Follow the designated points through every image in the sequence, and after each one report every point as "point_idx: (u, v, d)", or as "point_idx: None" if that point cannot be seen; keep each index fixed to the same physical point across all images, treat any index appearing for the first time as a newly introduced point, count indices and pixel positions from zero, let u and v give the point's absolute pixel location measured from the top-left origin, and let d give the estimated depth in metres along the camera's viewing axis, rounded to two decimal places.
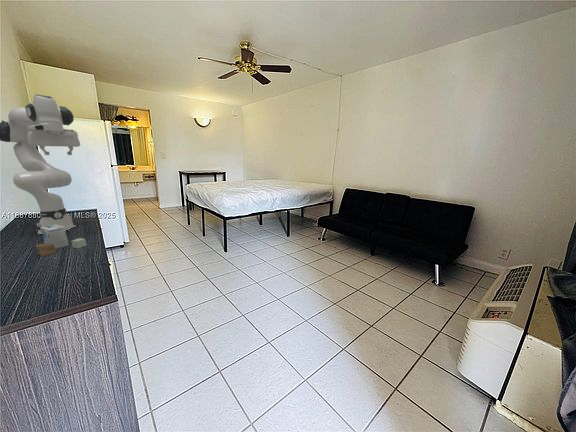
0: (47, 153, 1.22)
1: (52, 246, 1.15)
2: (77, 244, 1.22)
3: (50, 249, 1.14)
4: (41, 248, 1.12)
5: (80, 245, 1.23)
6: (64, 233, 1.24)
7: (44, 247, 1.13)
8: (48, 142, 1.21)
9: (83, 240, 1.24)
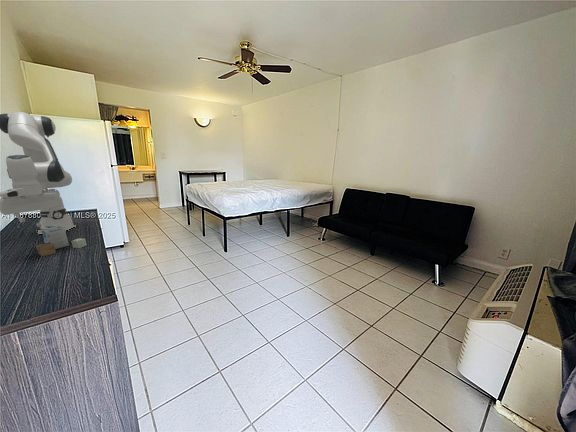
0: (23, 220, 1.06)
1: (52, 246, 1.15)
2: (77, 244, 1.22)
3: (50, 249, 1.14)
4: (41, 248, 1.12)
5: (80, 245, 1.23)
6: (64, 233, 1.24)
7: (44, 247, 1.13)
8: (24, 208, 1.06)
9: (83, 240, 1.24)
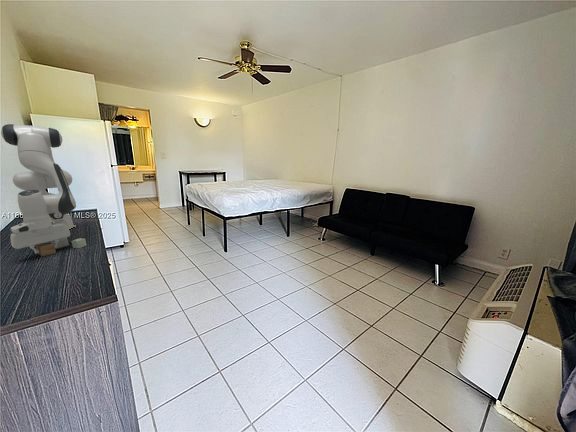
0: (37, 251, 1.12)
1: (52, 246, 1.15)
2: (77, 244, 1.22)
3: (50, 249, 1.14)
4: (41, 248, 1.12)
5: (80, 245, 1.23)
6: None
7: (44, 247, 1.13)
8: (34, 241, 1.10)
9: (83, 240, 1.24)
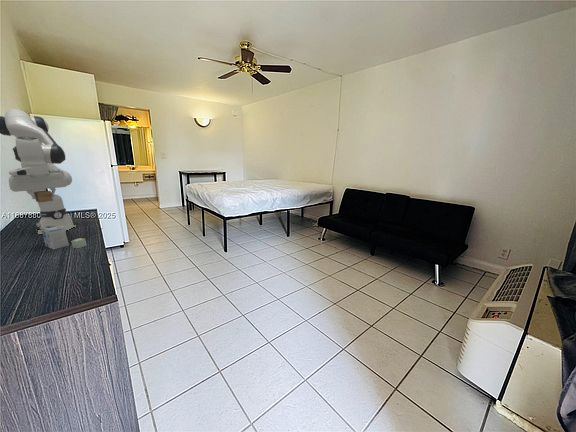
0: (35, 197, 1.16)
1: (49, 193, 1.19)
2: (77, 244, 1.22)
3: (47, 196, 1.19)
4: (38, 194, 1.16)
5: (80, 245, 1.23)
6: (64, 233, 1.24)
7: (41, 193, 1.17)
8: (32, 186, 1.14)
9: (83, 240, 1.24)
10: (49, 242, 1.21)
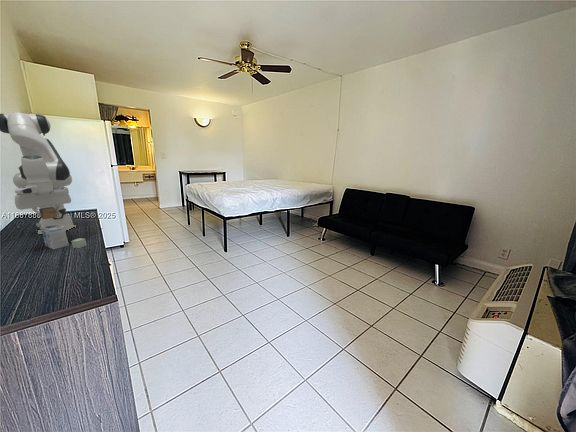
0: (40, 214, 1.18)
1: (54, 210, 1.22)
2: (77, 244, 1.22)
3: (52, 213, 1.21)
4: (43, 211, 1.18)
5: (80, 245, 1.23)
6: (64, 233, 1.24)
7: (46, 210, 1.19)
8: (37, 204, 1.16)
9: (83, 240, 1.24)
10: (49, 242, 1.21)
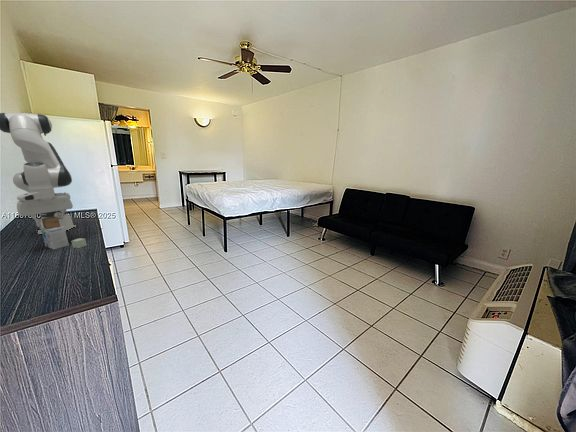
0: (38, 221, 1.18)
1: (56, 219, 1.23)
2: (77, 244, 1.22)
3: (54, 222, 1.22)
4: (46, 221, 1.20)
5: (80, 245, 1.23)
6: (64, 233, 1.24)
7: (49, 220, 1.20)
8: (39, 210, 1.17)
9: (83, 240, 1.24)
10: (49, 242, 1.21)
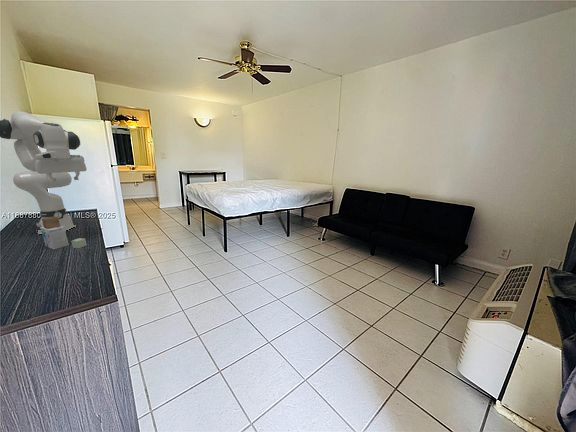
0: (54, 180, 1.23)
1: (57, 219, 1.23)
2: (77, 244, 1.22)
3: (54, 222, 1.22)
4: (46, 221, 1.20)
5: (80, 245, 1.23)
6: (64, 233, 1.24)
7: (49, 220, 1.20)
8: (55, 169, 1.23)
9: (83, 240, 1.24)
10: (49, 242, 1.21)
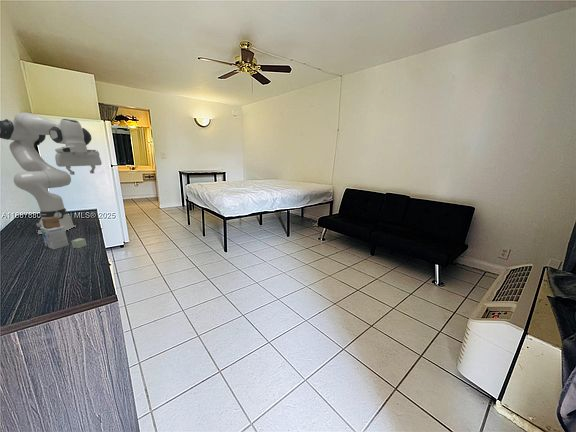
0: (72, 173, 1.31)
1: (57, 219, 1.23)
2: (77, 244, 1.22)
3: (54, 222, 1.22)
4: (46, 221, 1.19)
5: (80, 245, 1.23)
6: (64, 233, 1.24)
7: (49, 220, 1.20)
8: (74, 162, 1.30)
9: (83, 240, 1.24)
10: (49, 242, 1.21)
